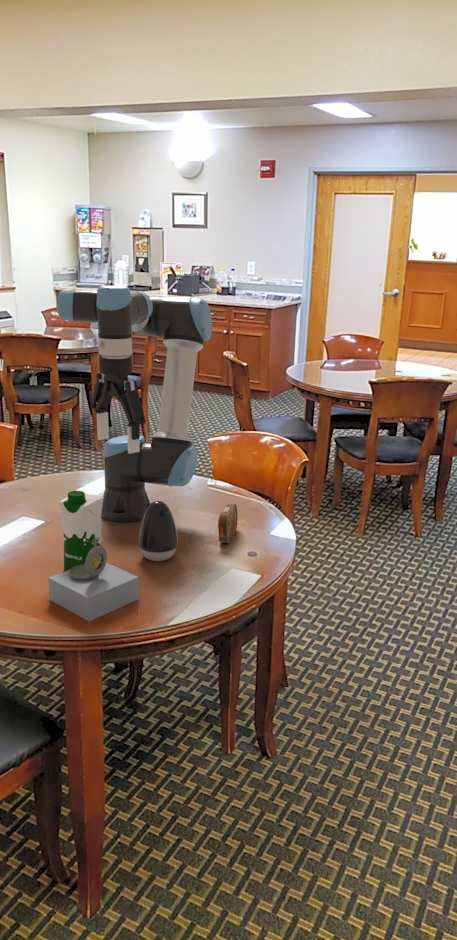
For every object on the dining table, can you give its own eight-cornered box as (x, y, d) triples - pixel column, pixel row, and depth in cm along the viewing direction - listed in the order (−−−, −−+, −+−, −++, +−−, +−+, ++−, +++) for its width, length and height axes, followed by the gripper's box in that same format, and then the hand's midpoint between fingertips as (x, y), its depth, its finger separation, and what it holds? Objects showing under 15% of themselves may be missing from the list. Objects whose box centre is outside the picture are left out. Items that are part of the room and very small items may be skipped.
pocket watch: (71, 568, 166) (69, 527, 163) (108, 568, 166) (107, 527, 163) (66, 584, 158) (64, 542, 155) (105, 584, 158) (103, 542, 155)
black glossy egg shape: (147, 568, 179) (146, 511, 175) (132, 553, 188) (131, 498, 183) (184, 561, 184) (185, 505, 179) (168, 546, 193) (168, 492, 188)
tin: (227, 548, 193) (228, 518, 190) (216, 547, 193) (216, 517, 191) (238, 527, 207) (239, 500, 204) (227, 526, 207) (228, 499, 205)
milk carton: (58, 570, 177) (54, 493, 171) (80, 557, 185) (77, 482, 179) (88, 577, 174) (85, 499, 168) (109, 563, 182) (107, 488, 176)
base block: (49, 601, 163) (48, 577, 161) (98, 581, 173) (98, 558, 171) (89, 623, 154) (88, 598, 152) (138, 601, 164) (138, 576, 162)
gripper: (74, 349, 171) (78, 436, 178) (131, 365, 153) (133, 461, 160) (101, 347, 176) (104, 431, 183) (160, 362, 158) (161, 455, 165)
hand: (118, 445), depth 171 cm, fingers open, 13 cm apart
